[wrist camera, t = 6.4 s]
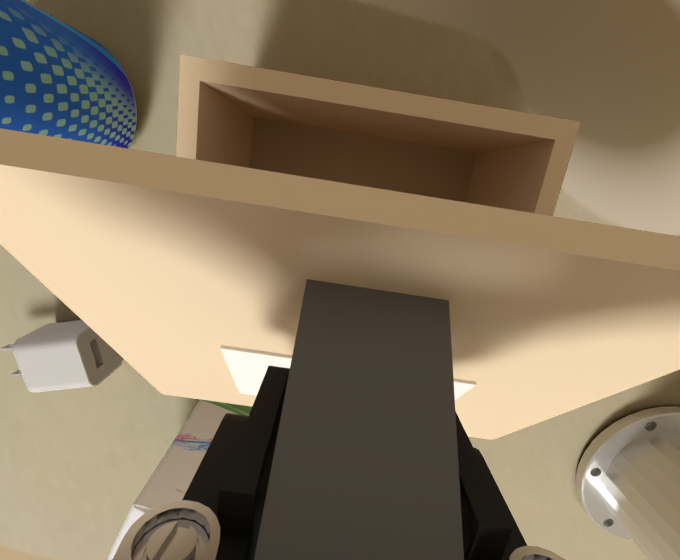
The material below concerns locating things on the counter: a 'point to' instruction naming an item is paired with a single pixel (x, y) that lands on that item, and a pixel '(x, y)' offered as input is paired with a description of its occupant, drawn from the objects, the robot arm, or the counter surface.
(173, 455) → the ink box
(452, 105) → the carton
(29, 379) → the usb wall charger
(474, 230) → the tan labeled panel
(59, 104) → the beer can
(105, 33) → the counter surface
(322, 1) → the counter surface
